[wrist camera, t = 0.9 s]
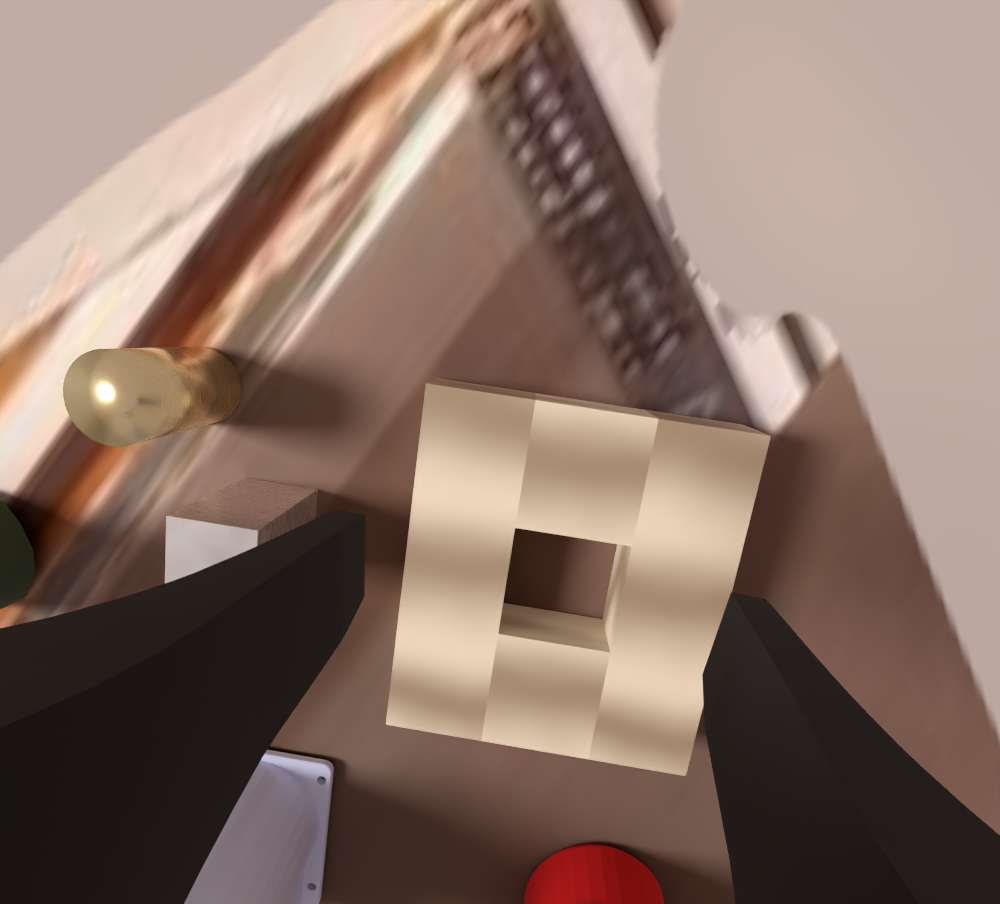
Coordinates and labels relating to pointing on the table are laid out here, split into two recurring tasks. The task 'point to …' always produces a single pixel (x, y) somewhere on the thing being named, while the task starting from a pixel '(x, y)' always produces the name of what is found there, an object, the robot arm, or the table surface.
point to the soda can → (592, 878)
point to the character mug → (14, 559)
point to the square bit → (233, 523)
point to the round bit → (149, 392)
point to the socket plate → (581, 514)
